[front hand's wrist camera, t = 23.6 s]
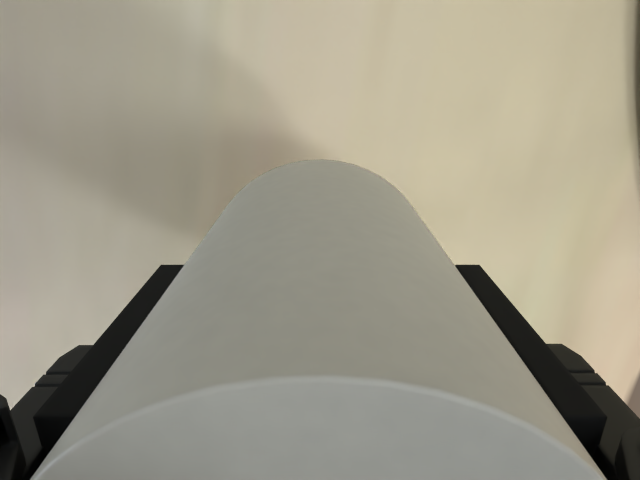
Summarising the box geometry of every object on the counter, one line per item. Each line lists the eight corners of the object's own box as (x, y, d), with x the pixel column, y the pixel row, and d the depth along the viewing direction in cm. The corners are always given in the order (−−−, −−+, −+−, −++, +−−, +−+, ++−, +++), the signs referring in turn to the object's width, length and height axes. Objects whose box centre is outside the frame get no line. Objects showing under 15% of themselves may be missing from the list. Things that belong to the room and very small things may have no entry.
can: (216, 357, 18) (56, 791, 7) (202, 155, 15) (-111, 369, 4) (416, 362, 18) (565, 798, 7) (442, 162, 15) (761, 386, 4)
